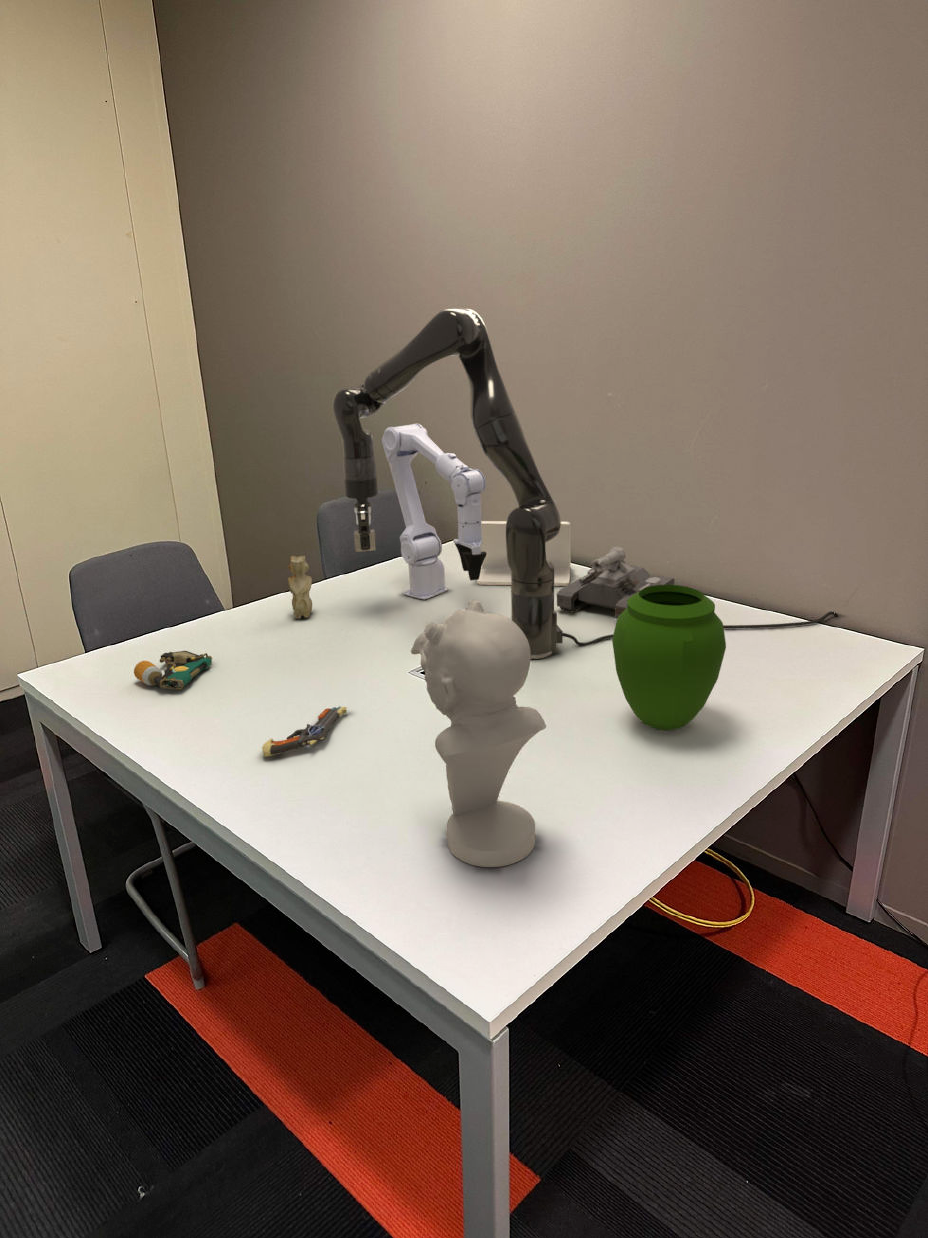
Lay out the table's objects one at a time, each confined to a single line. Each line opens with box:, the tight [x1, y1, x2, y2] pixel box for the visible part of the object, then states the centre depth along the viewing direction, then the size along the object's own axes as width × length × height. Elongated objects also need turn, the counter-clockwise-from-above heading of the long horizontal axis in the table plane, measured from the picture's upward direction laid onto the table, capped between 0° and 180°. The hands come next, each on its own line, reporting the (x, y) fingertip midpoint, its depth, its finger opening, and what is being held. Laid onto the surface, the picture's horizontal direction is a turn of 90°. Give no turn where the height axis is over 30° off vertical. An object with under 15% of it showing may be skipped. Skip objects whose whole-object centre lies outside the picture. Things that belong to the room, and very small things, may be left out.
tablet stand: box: [476, 520, 572, 587], centre depth 236 cm, size 18×25×17 cm
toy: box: [556, 546, 676, 620], centre depth 212 cm, size 25×20×15 cm
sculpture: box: [287, 554, 313, 619], centre depth 211 cm, size 6×7×15 cm
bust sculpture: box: [410, 599, 547, 868], centre depth 121 cm, size 16×24×35 cm
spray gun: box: [133, 650, 213, 690], centre depth 180 cm, size 4×17×15 cm
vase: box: [611, 584, 727, 731], centre depth 151 cm, size 20×20×24 cm
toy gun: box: [261, 705, 348, 758], centre depth 154 cm, size 3×19×10 cm
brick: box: [353, 529, 377, 552], centre depth 204 cm, size 4×5×4 cm
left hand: (471, 574), depth 210 cm, fingers open, 7 cm apart
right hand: (365, 546), depth 204 cm, fingers closed on brick, 4 cm apart
